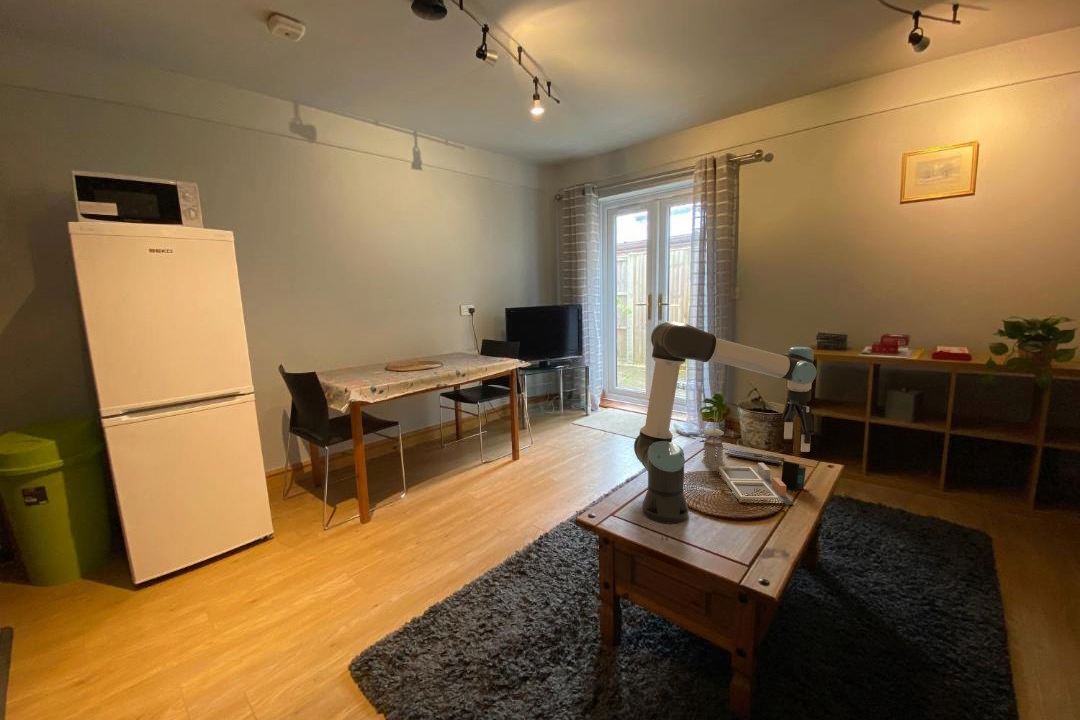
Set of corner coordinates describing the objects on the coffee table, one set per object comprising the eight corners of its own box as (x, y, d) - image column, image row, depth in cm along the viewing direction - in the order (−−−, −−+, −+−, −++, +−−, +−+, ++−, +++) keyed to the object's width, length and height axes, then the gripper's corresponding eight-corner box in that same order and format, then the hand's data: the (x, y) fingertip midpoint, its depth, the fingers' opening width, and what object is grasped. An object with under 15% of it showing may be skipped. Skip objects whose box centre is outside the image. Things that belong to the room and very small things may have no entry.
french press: (720, 458, 194) (723, 403, 190) (729, 468, 183) (731, 411, 179) (698, 457, 195) (699, 404, 191) (705, 468, 184) (707, 411, 180)
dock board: (739, 503, 154) (739, 489, 153) (716, 470, 181) (716, 458, 180) (793, 504, 152) (794, 490, 151) (761, 471, 179) (762, 459, 178)
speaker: (795, 493, 159) (797, 465, 159) (780, 487, 164) (782, 460, 164) (807, 490, 163) (809, 463, 162) (792, 485, 168) (794, 458, 167)
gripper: (828, 397, 146) (824, 457, 149) (794, 381, 170) (791, 433, 174) (805, 397, 147) (801, 457, 150) (774, 382, 171) (771, 433, 175)
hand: (796, 444), depth 162 cm, fingers open, 13 cm apart
